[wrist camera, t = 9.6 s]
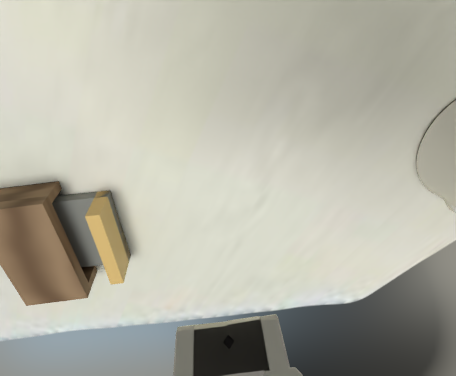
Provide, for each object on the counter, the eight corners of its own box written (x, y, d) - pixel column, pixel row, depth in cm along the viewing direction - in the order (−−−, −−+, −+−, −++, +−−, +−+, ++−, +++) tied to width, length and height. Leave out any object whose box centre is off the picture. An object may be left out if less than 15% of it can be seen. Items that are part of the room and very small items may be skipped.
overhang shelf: (58, 181, 37) (42, 203, 33) (97, 270, 45) (87, 297, 41) (-9, 189, 37) (-33, 213, 33) (41, 278, 45) (26, 305, 41)
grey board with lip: (110, 189, 39) (99, 214, 34) (130, 253, 44) (123, 282, 40) (15, 199, 38) (-9, 226, 34) (46, 263, 44) (30, 293, 39)
